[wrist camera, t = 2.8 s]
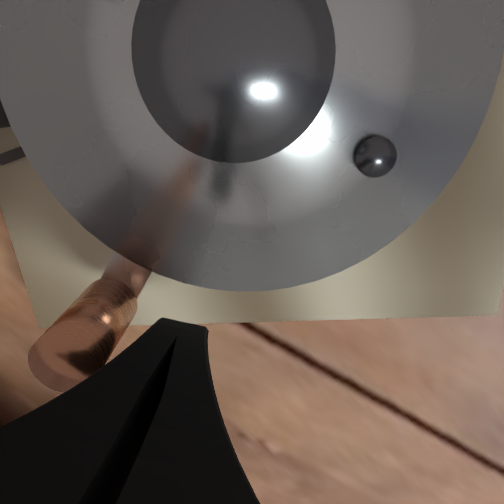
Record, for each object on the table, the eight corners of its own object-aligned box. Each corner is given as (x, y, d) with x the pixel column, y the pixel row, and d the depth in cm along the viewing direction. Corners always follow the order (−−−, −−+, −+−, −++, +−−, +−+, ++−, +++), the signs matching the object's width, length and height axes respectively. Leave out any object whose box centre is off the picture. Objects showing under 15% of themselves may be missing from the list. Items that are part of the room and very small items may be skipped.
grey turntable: (125, -444, 7) (-43, -1066, 3) (599, -29, 9) (836, -117, 5) (-64, 210, 12) (-215, 264, 8) (266, 382, 14) (264, 488, 10)
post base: (593, -367, 8) (757, -600, 5) (475, 293, 14) (524, 342, 12) (-107, -271, 9) (-267, -424, 7) (60, 306, 15) (13, 353, 13)
